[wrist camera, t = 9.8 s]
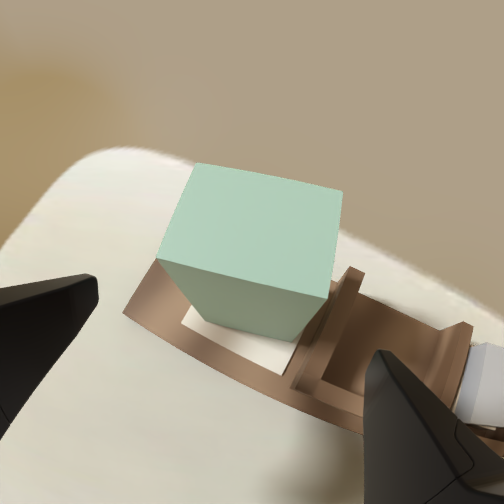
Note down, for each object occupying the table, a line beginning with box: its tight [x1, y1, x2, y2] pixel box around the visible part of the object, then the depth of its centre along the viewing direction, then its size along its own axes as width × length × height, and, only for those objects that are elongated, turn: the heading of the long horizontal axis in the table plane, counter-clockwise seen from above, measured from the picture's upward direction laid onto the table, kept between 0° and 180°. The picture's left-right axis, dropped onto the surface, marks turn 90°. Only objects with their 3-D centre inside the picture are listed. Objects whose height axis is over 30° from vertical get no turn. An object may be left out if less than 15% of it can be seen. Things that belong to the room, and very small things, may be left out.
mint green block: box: [156, 163, 343, 342], centre depth 15 cm, size 6×4×10 cm
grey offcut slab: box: [454, 343, 504, 428], centre depth 13 cm, size 5×5×2 cm
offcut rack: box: [122, 259, 504, 457], centre depth 17 cm, size 30×8×4 cm, turn 63°
